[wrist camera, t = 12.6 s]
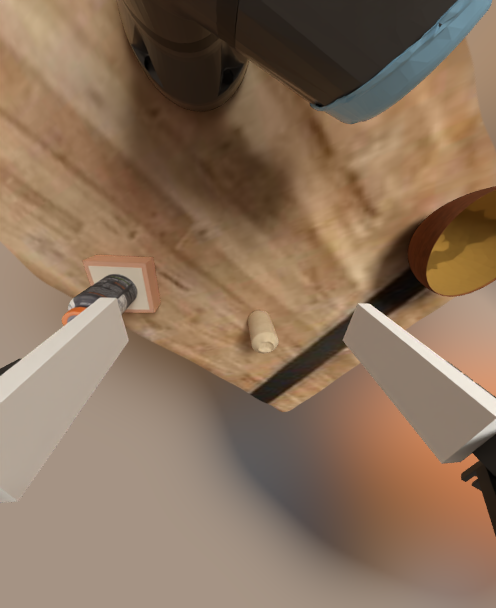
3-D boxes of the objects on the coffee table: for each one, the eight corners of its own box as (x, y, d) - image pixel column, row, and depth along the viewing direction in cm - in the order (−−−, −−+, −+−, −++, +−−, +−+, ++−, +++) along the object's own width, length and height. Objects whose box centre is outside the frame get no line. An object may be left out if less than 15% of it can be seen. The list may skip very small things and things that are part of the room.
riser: (96, 254, 35) (81, 261, 32) (153, 257, 36) (144, 263, 33) (111, 302, 40) (99, 312, 36) (160, 303, 41) (154, 313, 38)
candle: (248, 330, 47) (253, 360, 38) (246, 311, 44) (251, 338, 36) (270, 327, 47) (280, 356, 39) (270, 308, 45) (280, 335, 36)
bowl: (485, 223, 39) (559, 231, 31) (412, 290, 46) (455, 311, 37) (445, 164, 33) (521, 152, 25) (366, 250, 40) (405, 265, 31)
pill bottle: (94, 284, 34) (40, 320, 24) (118, 266, 33) (71, 296, 23) (122, 308, 36) (83, 349, 27) (145, 292, 35) (114, 329, 25)
